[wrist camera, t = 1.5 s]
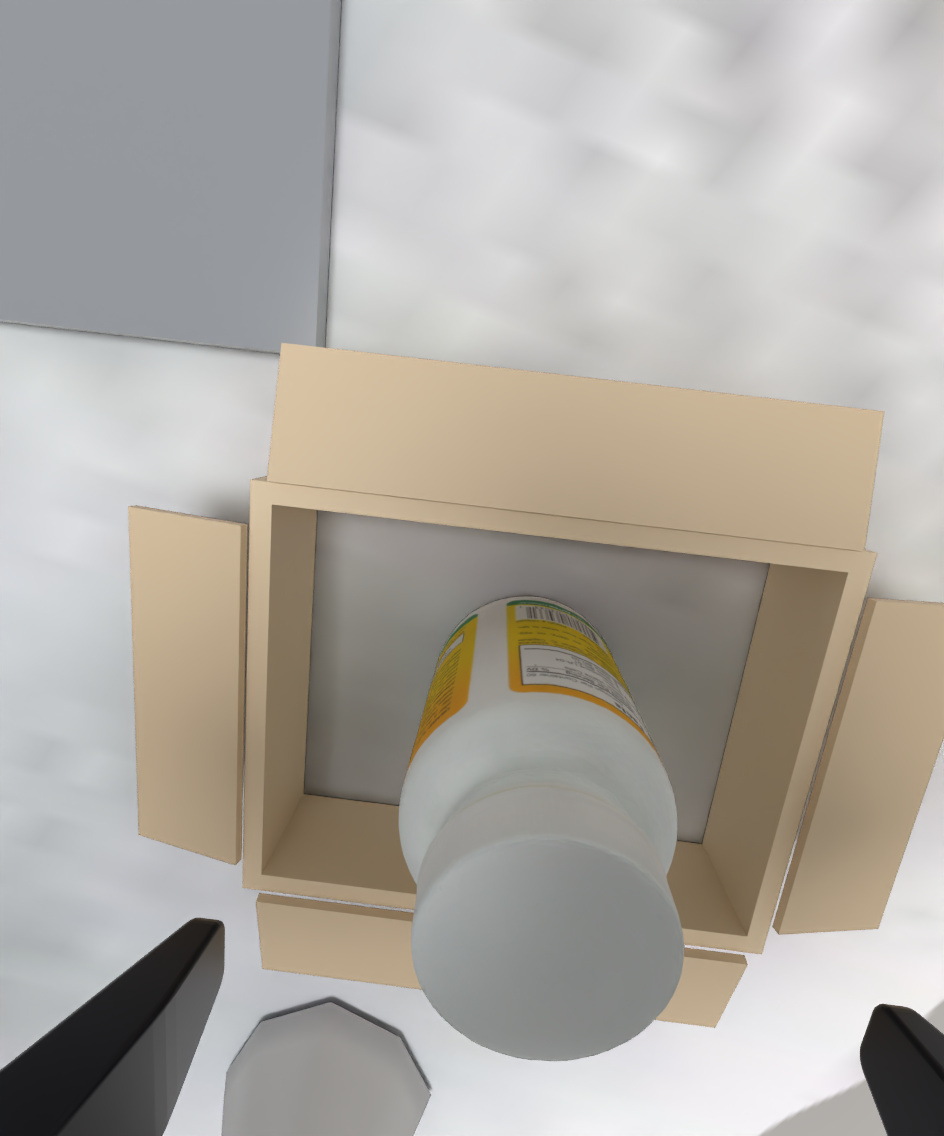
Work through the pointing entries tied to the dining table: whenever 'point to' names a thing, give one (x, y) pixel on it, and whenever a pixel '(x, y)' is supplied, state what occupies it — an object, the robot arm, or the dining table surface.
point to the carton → (559, 510)
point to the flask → (323, 1079)
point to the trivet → (168, 168)
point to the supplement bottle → (539, 840)
